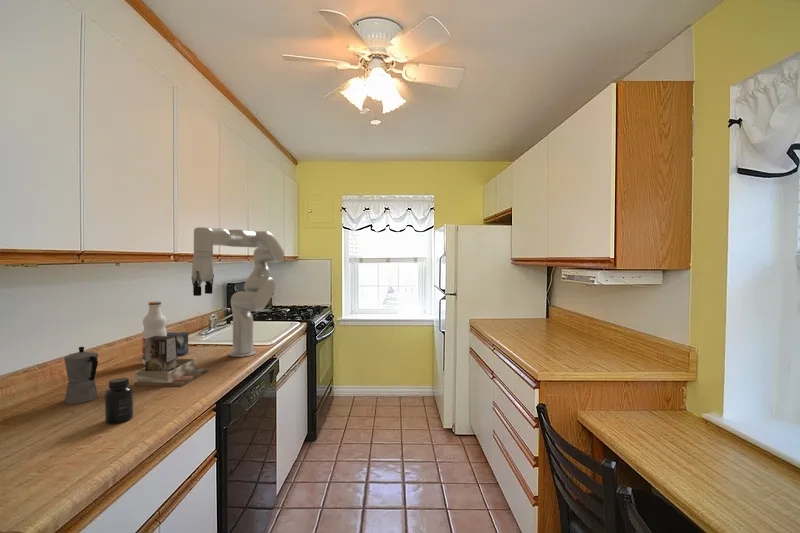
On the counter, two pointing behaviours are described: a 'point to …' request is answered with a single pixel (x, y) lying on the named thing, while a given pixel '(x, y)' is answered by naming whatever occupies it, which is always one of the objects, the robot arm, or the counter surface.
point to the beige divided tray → (170, 375)
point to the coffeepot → (81, 377)
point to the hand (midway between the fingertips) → (203, 294)
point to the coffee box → (161, 353)
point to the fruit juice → (153, 324)
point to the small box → (181, 342)
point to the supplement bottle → (118, 401)
